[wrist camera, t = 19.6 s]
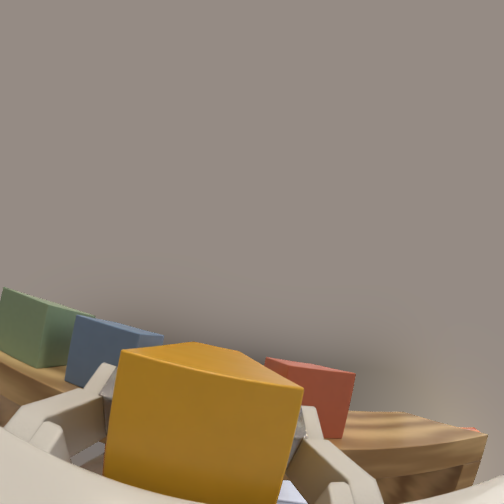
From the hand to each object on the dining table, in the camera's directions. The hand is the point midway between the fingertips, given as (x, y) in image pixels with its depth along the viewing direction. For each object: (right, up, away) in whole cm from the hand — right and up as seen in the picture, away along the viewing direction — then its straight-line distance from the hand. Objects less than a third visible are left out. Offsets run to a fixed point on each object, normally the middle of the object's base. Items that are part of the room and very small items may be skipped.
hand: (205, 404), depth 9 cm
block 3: (+4, -6, +9) cm, 12 cm away
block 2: (-8, -4, +9) cm, 12 cm away
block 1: (-13, -3, +8) cm, 16 cm away
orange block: (-1, -4, +5) cm, 7 cm away
